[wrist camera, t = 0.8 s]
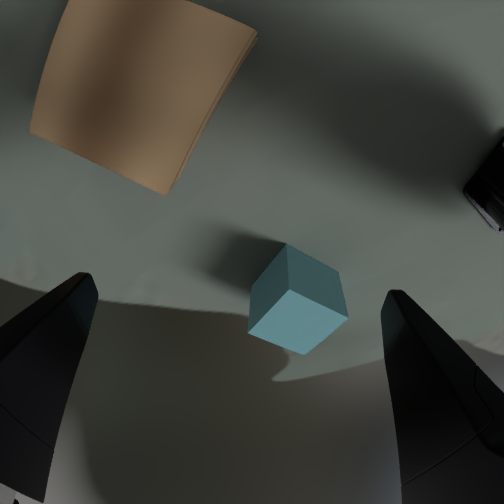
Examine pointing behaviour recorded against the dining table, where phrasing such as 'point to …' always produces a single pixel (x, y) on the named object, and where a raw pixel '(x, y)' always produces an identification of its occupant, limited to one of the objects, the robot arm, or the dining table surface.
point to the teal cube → (296, 302)
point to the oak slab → (136, 83)
